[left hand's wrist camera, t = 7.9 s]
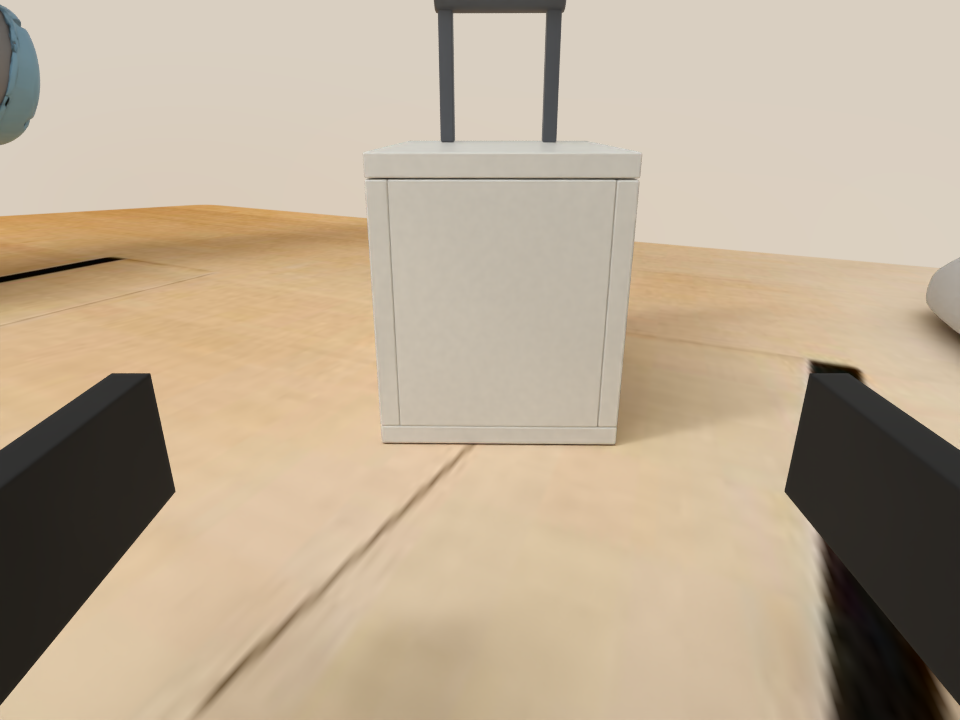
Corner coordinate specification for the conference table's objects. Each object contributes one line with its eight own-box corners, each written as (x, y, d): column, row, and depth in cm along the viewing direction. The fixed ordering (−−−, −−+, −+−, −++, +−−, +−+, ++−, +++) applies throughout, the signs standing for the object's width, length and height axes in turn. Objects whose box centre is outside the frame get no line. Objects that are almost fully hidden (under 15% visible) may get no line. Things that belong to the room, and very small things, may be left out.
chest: (416, 341, 38) (408, 158, 34) (576, 342, 38) (587, 159, 34) (381, 443, 26) (364, 179, 22) (616, 445, 26) (640, 179, 22)
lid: (409, 157, 35) (402, -21, 31) (586, 157, 34) (596, -21, 31) (364, 178, 22) (344, -114, 19) (640, 178, 22) (667, -117, 19)
